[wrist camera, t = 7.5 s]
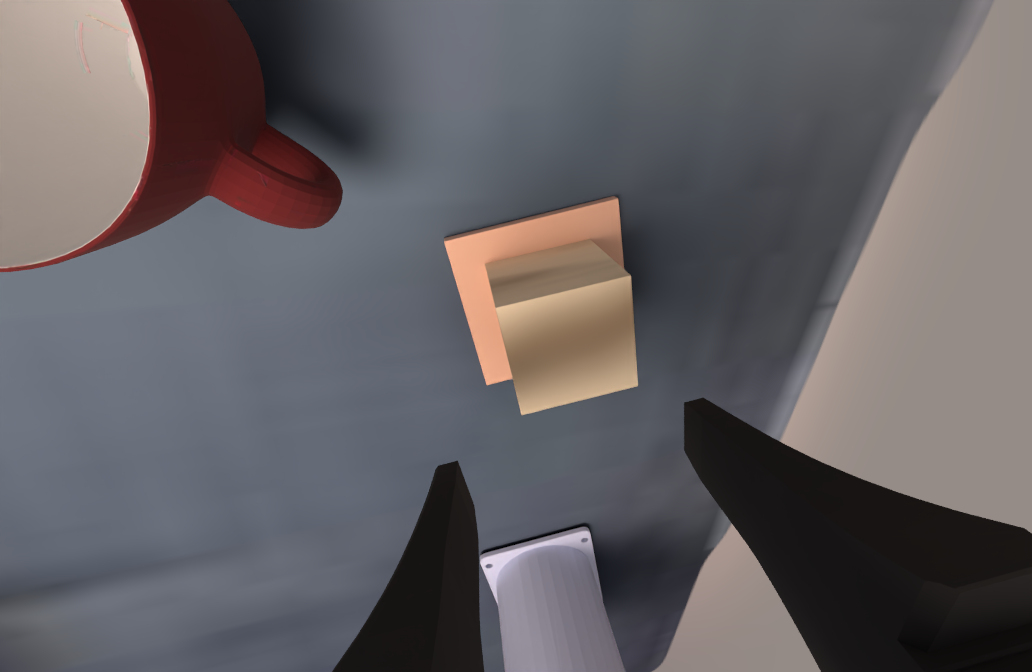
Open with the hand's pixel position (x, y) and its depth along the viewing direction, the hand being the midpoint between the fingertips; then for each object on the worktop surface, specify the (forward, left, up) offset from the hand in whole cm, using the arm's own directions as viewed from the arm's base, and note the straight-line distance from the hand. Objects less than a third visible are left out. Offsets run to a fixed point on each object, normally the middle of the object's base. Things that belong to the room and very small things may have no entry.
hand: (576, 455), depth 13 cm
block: (+1, -1, -9) cm, 9 cm away
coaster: (+1, -1, -10) cm, 10 cm away
